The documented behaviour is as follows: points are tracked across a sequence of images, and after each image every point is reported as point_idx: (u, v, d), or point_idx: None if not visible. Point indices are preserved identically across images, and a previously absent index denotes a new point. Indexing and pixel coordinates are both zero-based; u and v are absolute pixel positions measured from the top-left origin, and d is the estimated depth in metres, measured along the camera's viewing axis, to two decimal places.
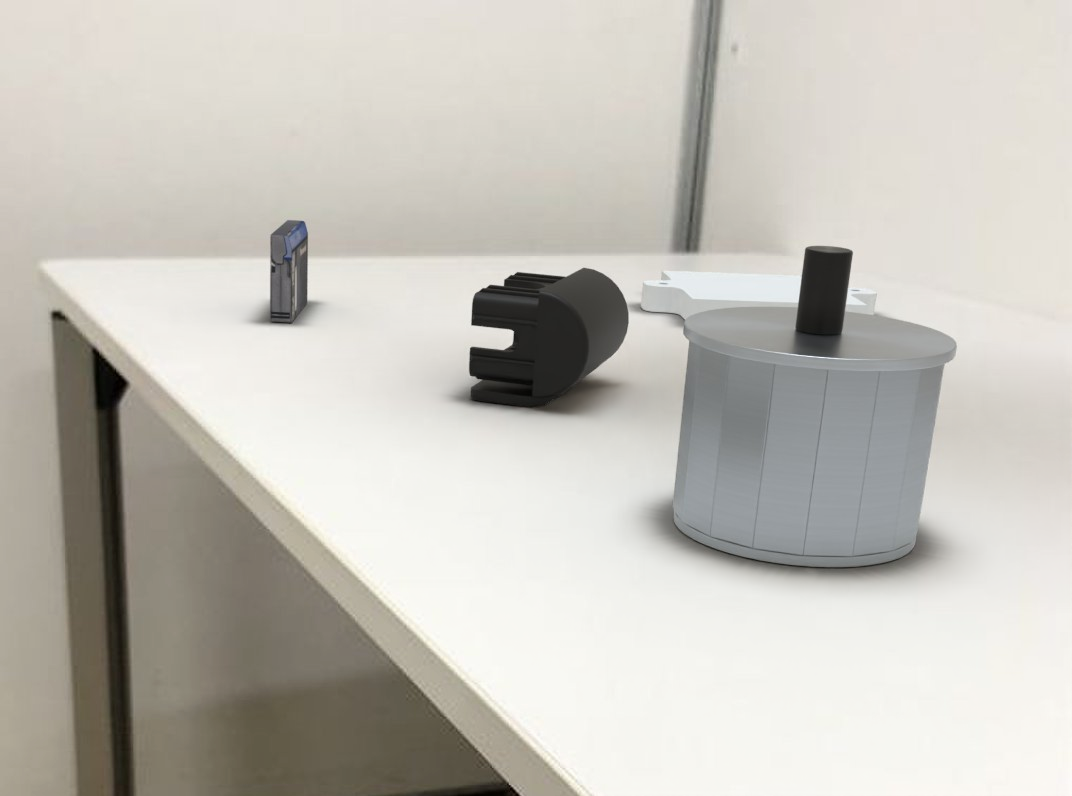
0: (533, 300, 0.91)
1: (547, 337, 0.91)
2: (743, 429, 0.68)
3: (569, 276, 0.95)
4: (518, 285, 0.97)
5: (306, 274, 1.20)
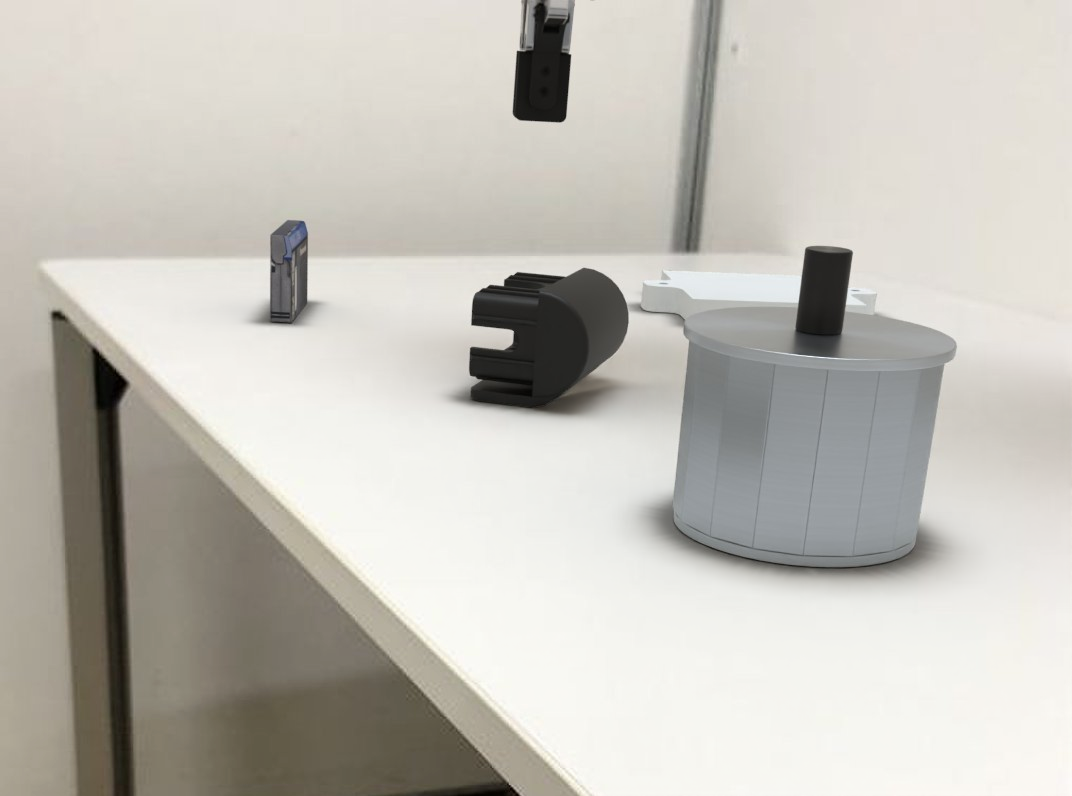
0: (533, 301, 0.91)
1: (547, 337, 0.91)
2: (743, 429, 0.68)
3: (569, 276, 0.95)
4: (518, 285, 0.97)
5: (306, 274, 1.20)
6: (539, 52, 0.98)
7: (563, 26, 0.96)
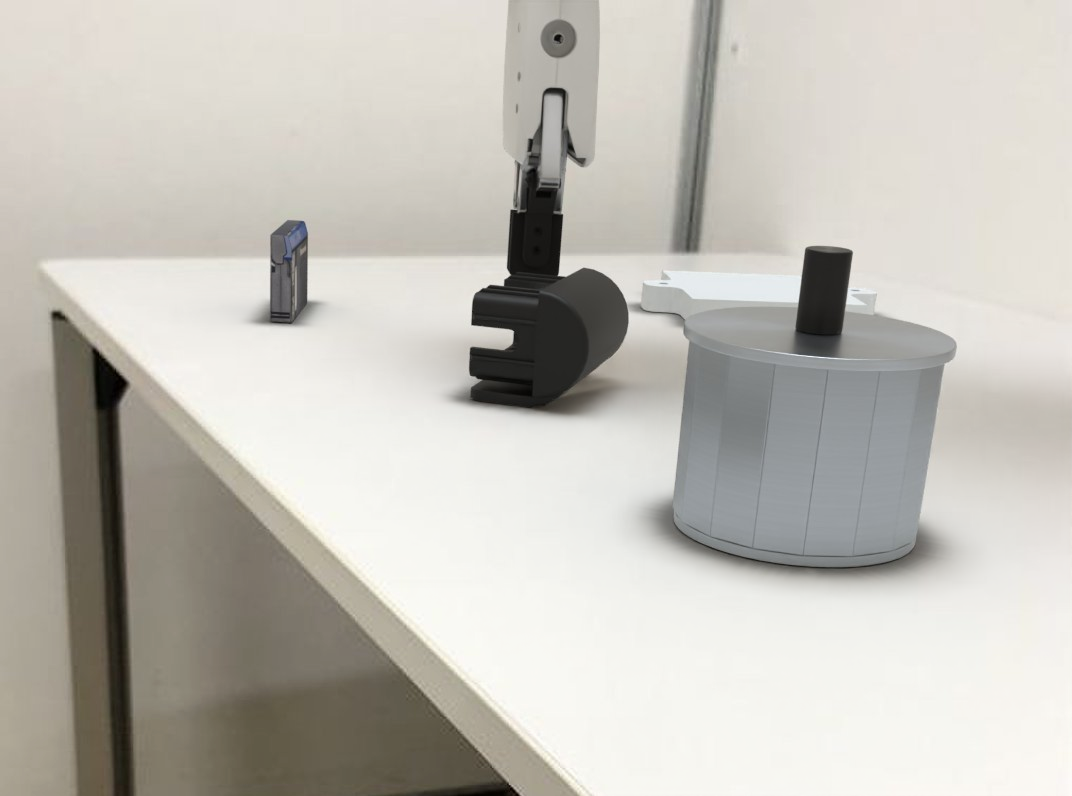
0: (533, 300, 0.91)
1: (547, 337, 0.91)
2: (743, 429, 0.68)
3: (569, 276, 0.95)
4: (518, 285, 0.97)
5: (306, 274, 1.20)
6: (532, 214, 1.01)
7: (555, 191, 0.99)
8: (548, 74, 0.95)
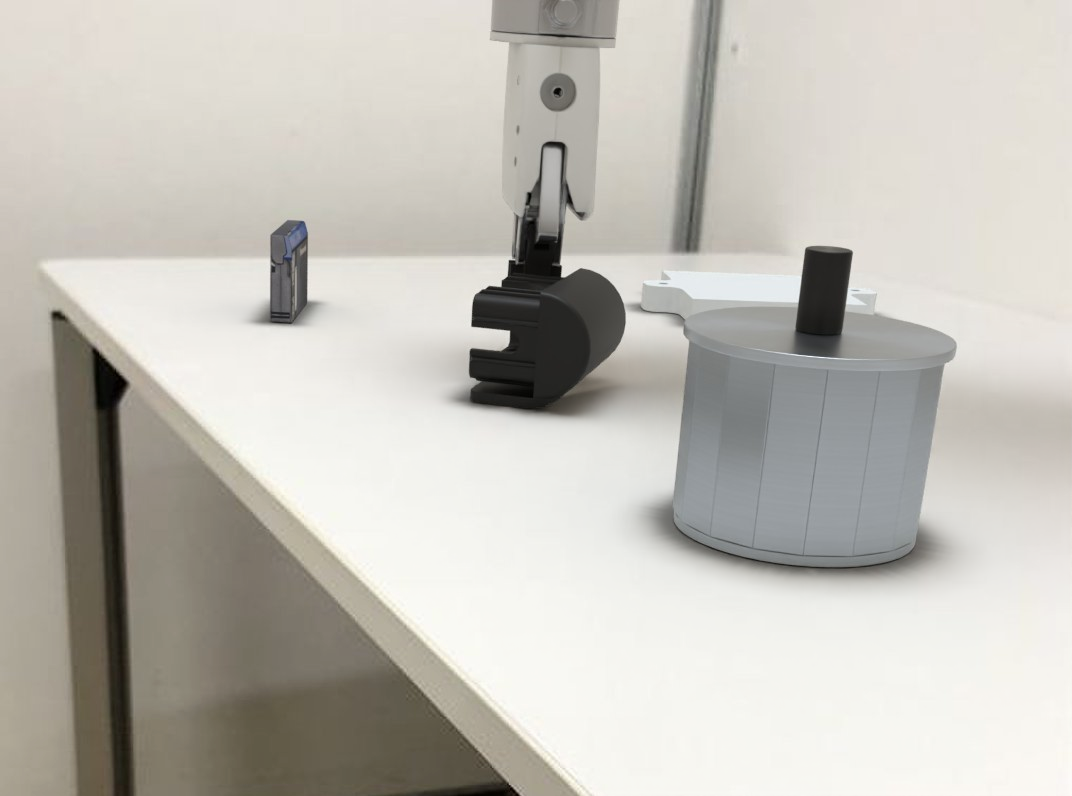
0: (533, 302, 0.91)
1: (548, 338, 0.90)
2: (743, 429, 0.68)
3: (567, 277, 0.95)
4: (516, 286, 0.97)
5: (306, 274, 1.20)
6: (530, 265, 1.00)
7: (553, 244, 0.98)
8: (547, 128, 0.94)
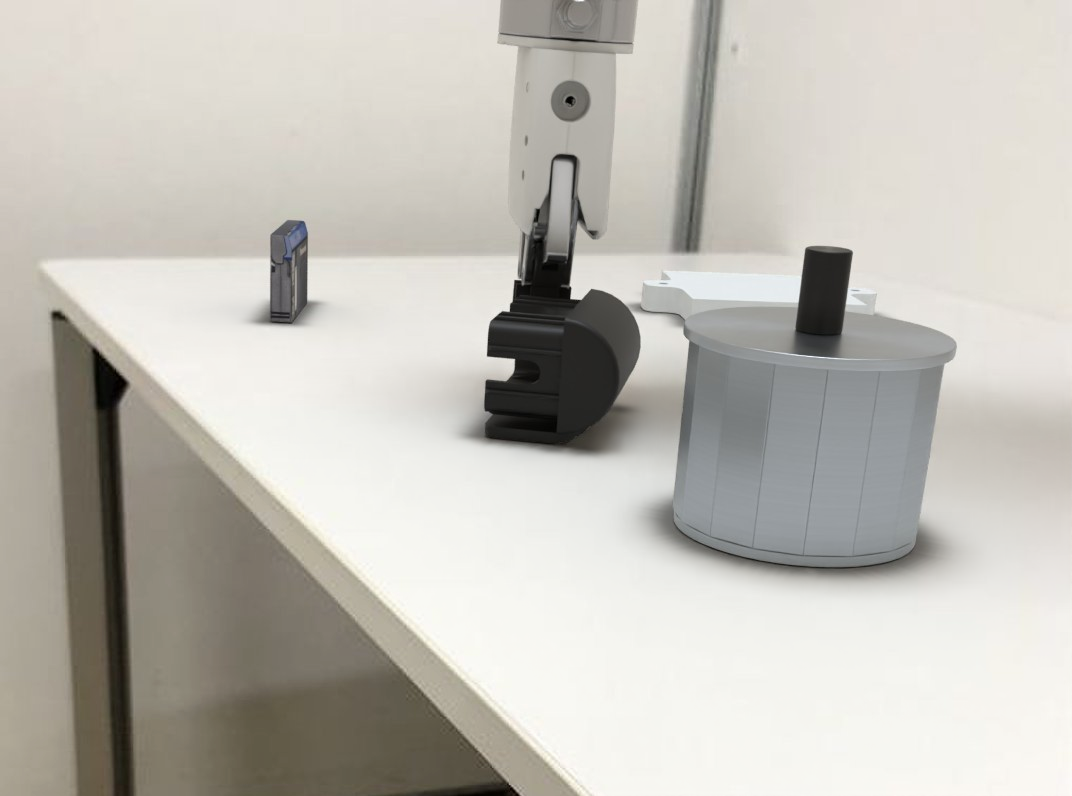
0: (555, 329, 0.84)
1: (573, 368, 0.83)
2: (743, 429, 0.68)
3: (584, 300, 0.88)
4: (525, 310, 0.89)
5: (306, 274, 1.20)
6: (537, 287, 0.93)
7: (563, 265, 0.91)
8: (558, 139, 0.86)
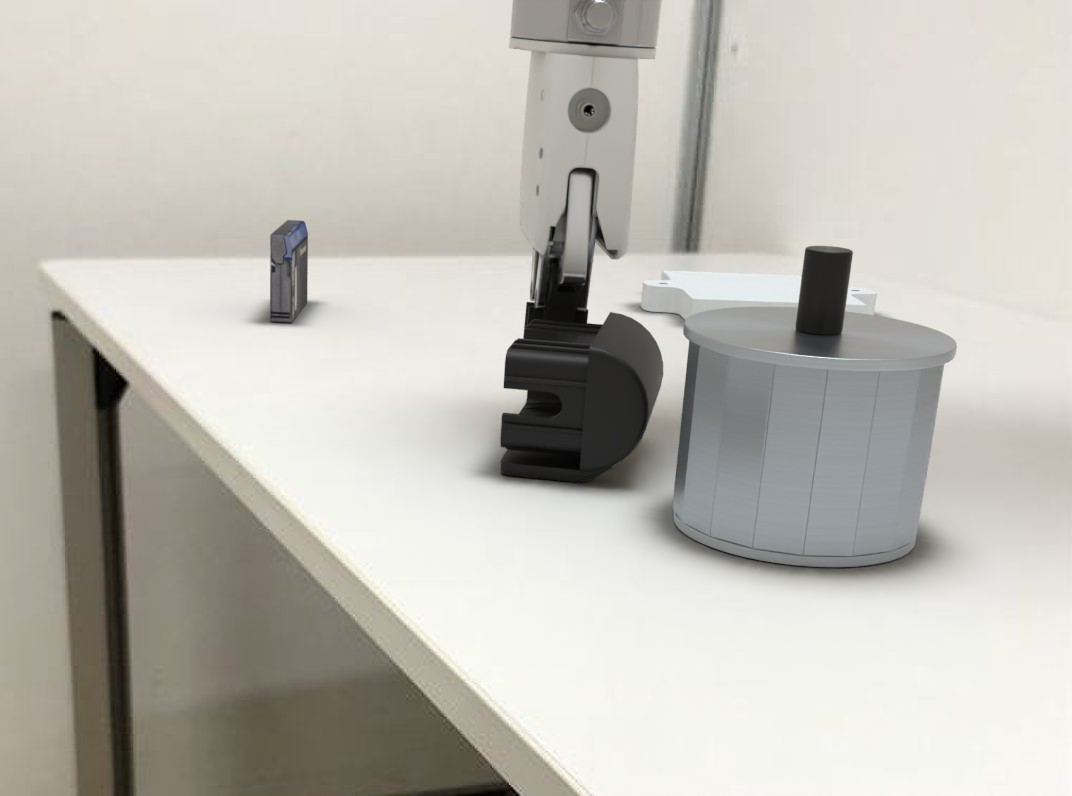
0: (578, 358, 0.77)
1: (599, 401, 0.77)
2: (743, 429, 0.68)
3: (605, 325, 0.81)
4: (541, 336, 0.83)
5: (306, 274, 1.20)
6: (552, 310, 0.86)
7: (580, 286, 0.84)
8: (576, 152, 0.80)
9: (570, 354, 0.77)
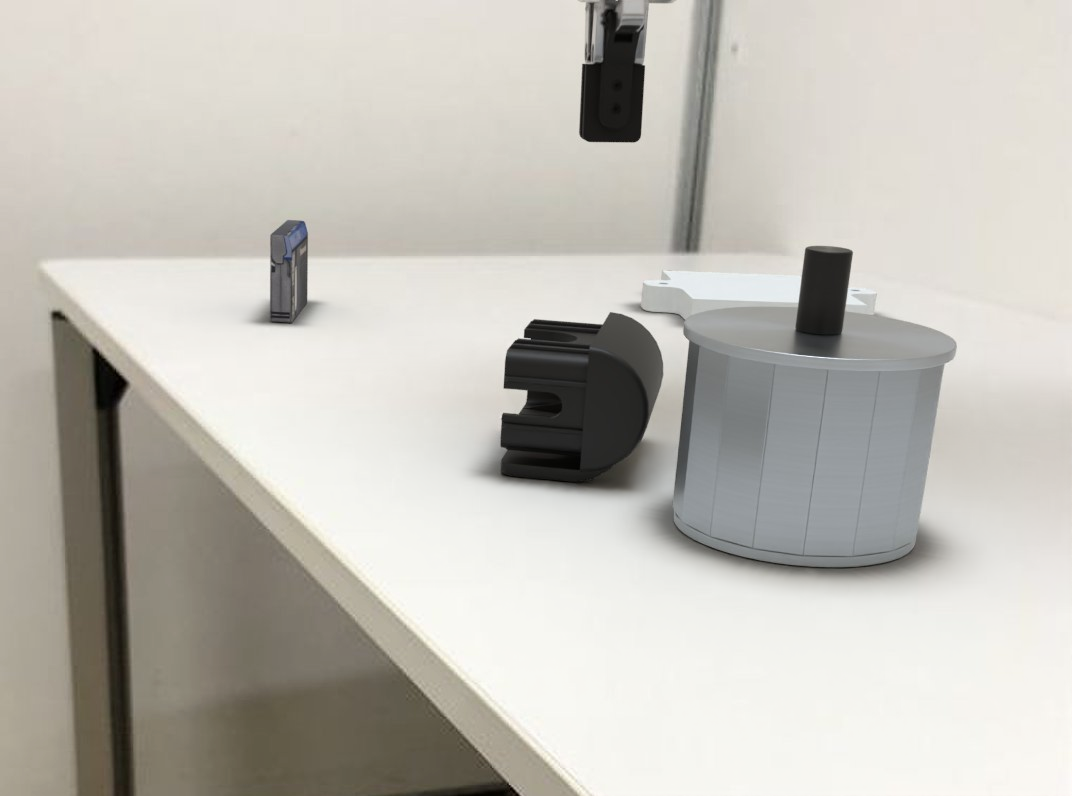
0: (578, 358, 0.77)
1: (599, 401, 0.77)
2: (743, 429, 0.68)
3: (605, 325, 0.81)
4: (541, 336, 0.83)
5: (306, 274, 1.20)
6: (609, 64, 0.87)
7: (637, 34, 0.85)
8: None
9: (570, 354, 0.77)
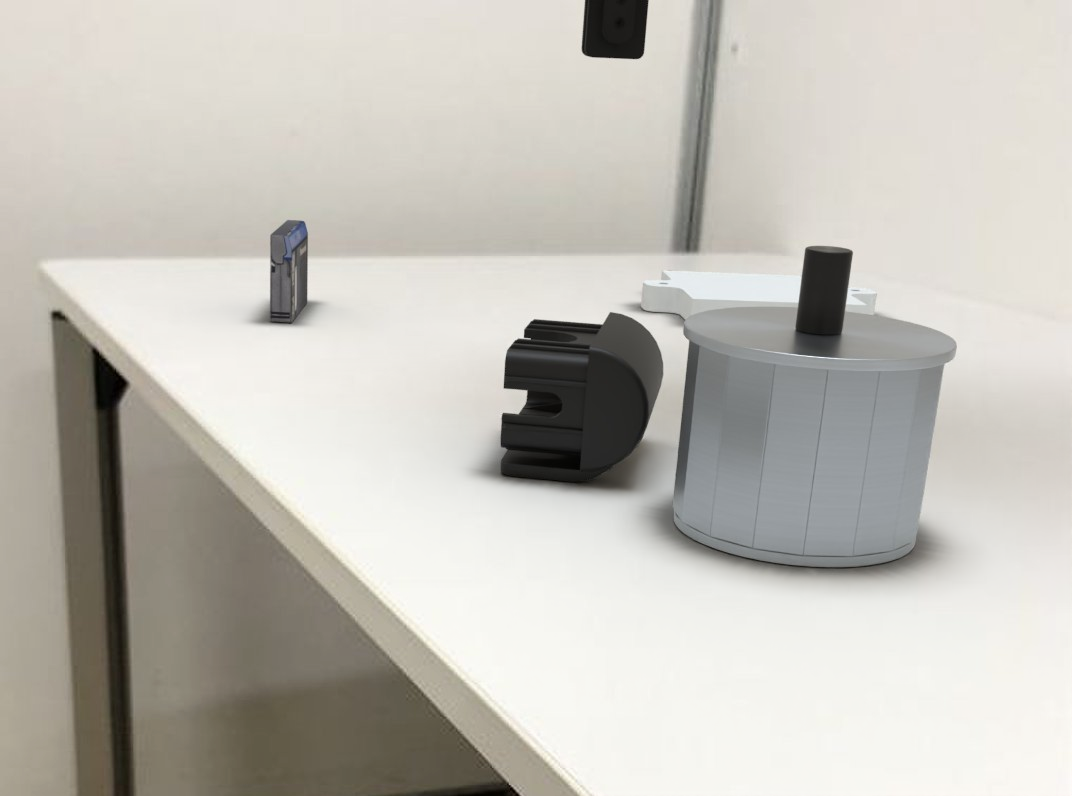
0: (578, 358, 0.77)
1: (599, 401, 0.77)
2: (743, 429, 0.68)
3: (605, 325, 0.81)
4: (541, 336, 0.83)
5: (306, 274, 1.20)
6: None
7: None
8: None
9: (570, 354, 0.77)
